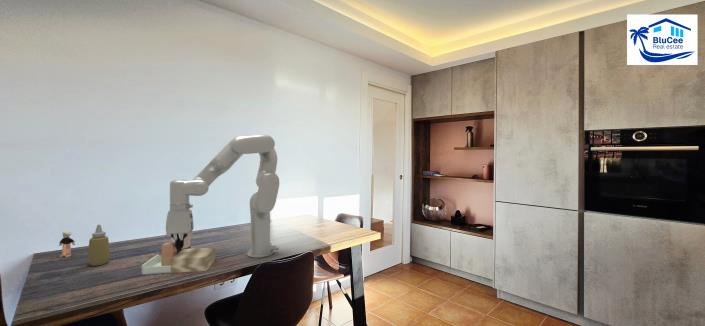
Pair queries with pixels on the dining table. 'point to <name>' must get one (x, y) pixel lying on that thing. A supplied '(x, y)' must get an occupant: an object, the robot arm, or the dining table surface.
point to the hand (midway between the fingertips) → (179, 248)
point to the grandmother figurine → (66, 244)
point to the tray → (155, 266)
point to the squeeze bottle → (98, 248)
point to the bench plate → (193, 260)
